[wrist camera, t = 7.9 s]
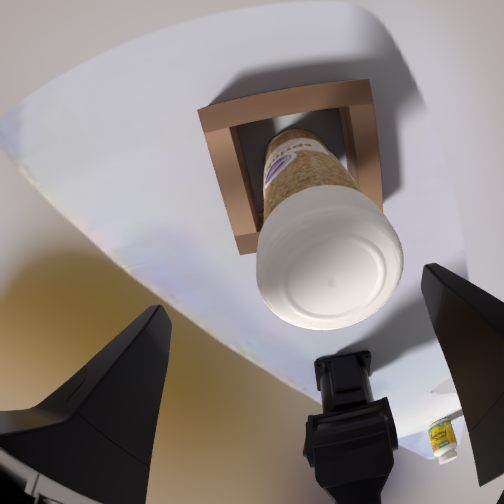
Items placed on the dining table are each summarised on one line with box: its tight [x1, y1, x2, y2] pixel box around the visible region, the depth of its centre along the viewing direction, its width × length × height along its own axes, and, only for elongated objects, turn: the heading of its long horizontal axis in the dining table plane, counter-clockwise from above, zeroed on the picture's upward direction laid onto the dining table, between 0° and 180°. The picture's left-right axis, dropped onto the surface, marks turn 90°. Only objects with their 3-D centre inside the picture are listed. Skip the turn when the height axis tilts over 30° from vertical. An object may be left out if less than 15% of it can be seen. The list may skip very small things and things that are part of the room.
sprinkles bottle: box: [256, 129, 403, 330], centre depth 14 cm, size 5×5×14 cm
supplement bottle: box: [428, 418, 457, 464], centre depth 40 cm, size 5×5×10 cm
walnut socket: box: [197, 79, 383, 255], centre depth 18 cm, size 10×10×3 cm
